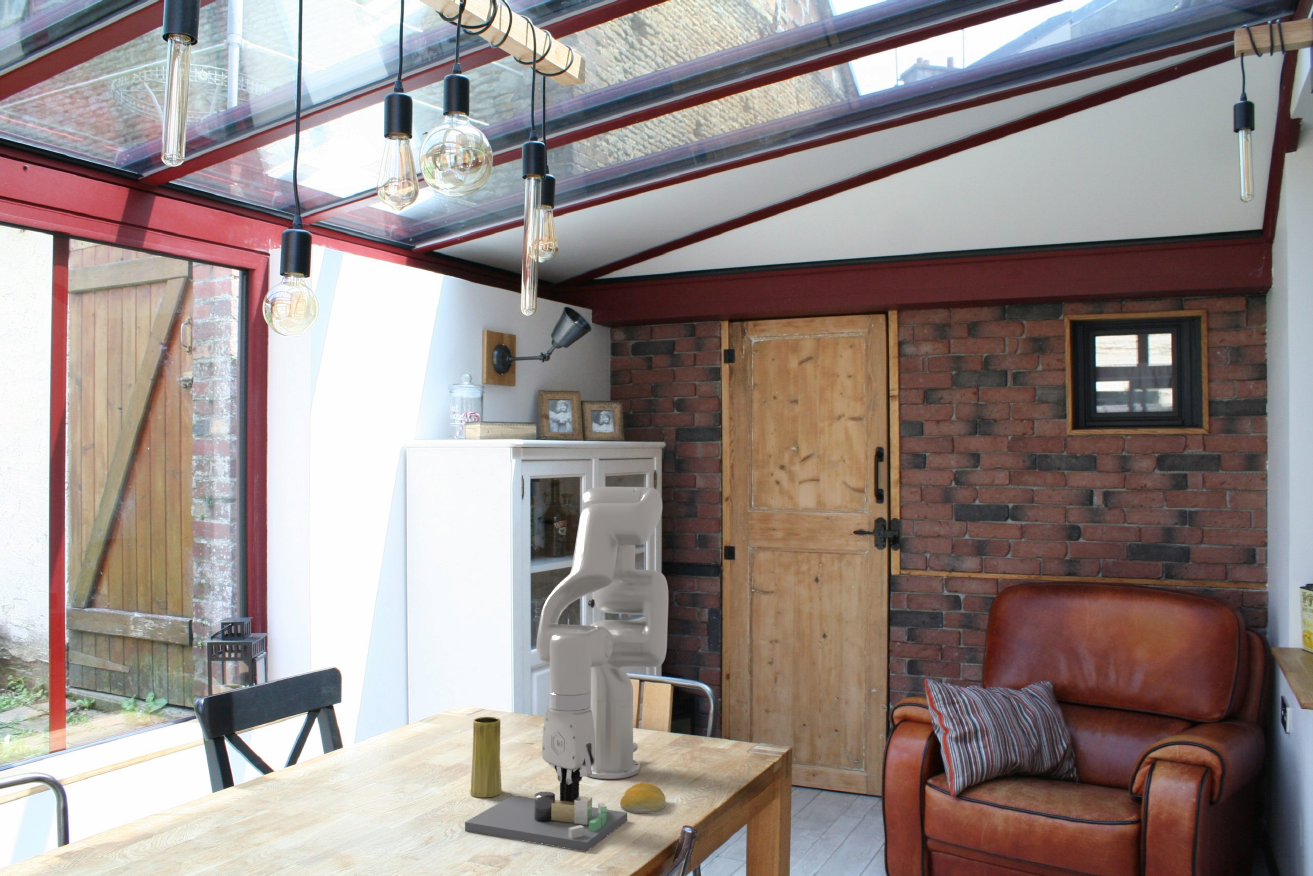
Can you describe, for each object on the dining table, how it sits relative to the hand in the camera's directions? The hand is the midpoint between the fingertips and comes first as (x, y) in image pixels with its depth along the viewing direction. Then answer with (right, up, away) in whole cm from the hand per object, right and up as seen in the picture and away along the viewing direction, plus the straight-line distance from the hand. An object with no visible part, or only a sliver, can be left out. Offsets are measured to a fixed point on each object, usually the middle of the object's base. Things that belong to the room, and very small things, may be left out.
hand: (569, 803), depth 177 cm
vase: (-18, -4, +16) cm, 24 cm away
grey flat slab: (-4, -3, -2) cm, 5 cm away
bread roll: (+13, -4, +9) cm, 16 cm away
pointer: (-1, -1, -4) cm, 4 cm away
